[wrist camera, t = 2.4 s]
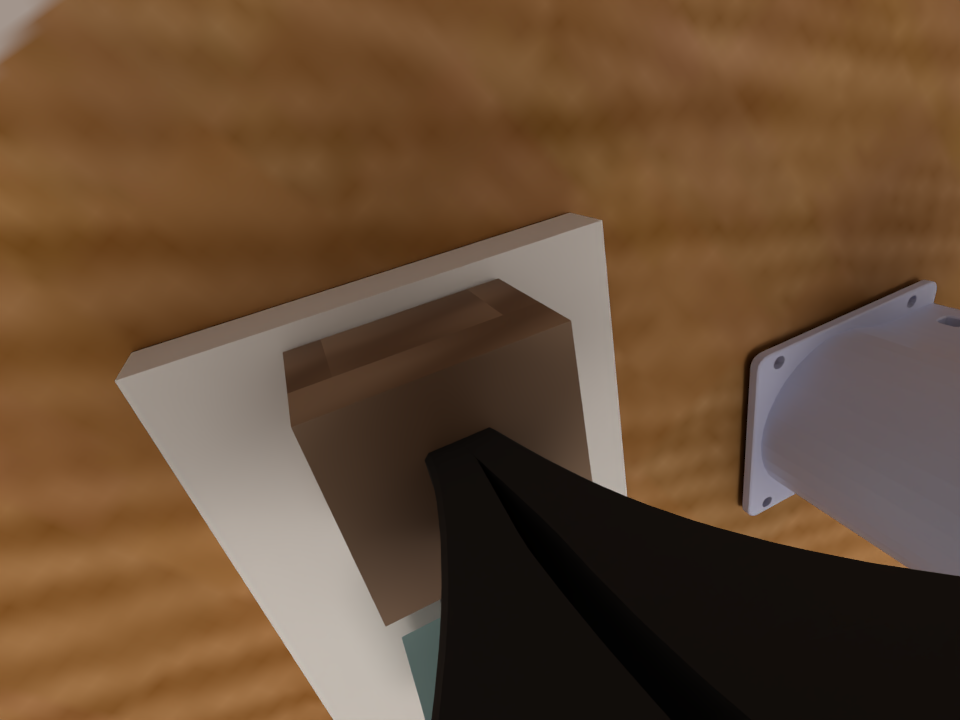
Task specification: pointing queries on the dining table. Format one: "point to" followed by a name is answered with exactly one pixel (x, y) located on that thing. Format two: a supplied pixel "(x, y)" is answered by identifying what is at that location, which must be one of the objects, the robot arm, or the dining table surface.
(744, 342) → the dining table surface
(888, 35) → the dining table surface
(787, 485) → the robot arm
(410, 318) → the brown ledged cube
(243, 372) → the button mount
